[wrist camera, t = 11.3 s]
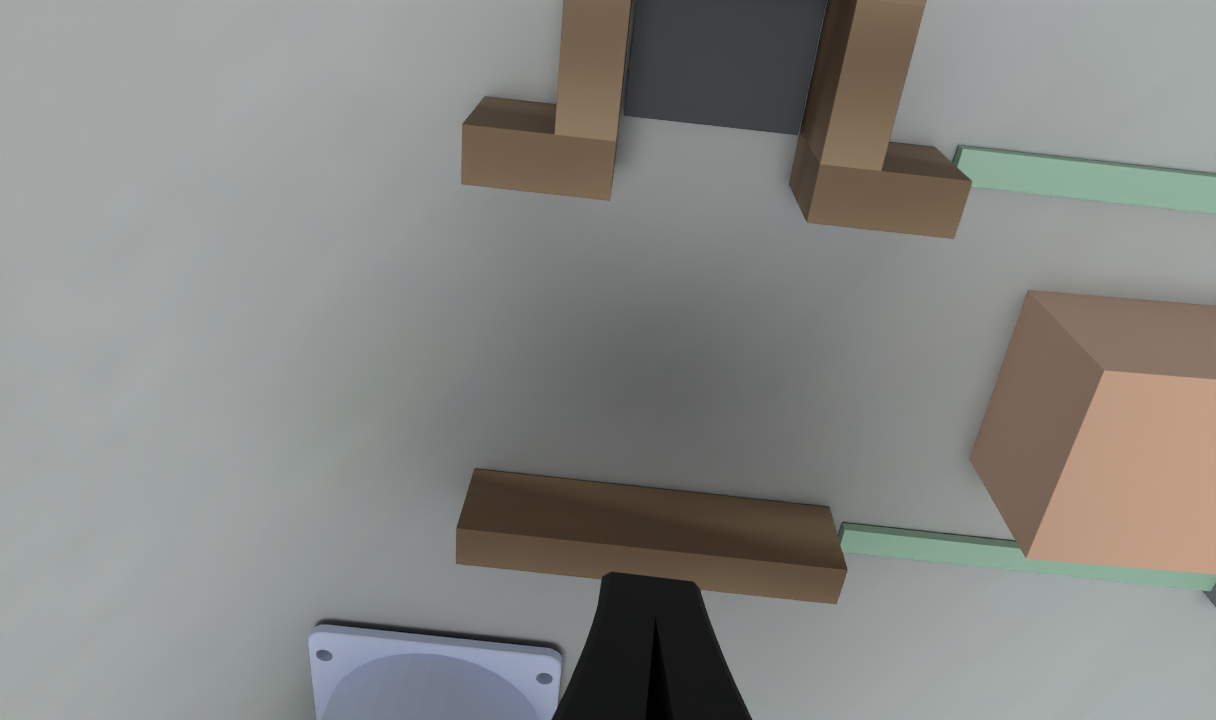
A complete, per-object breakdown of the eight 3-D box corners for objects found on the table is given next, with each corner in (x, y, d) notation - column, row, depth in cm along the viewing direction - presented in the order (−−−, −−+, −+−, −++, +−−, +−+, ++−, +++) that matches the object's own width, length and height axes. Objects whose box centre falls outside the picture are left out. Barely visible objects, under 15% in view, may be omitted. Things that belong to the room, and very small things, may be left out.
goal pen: (1252, 594, 24) (1311, 663, 22) (834, 549, 24) (852, 614, 22) (1510, 197, 19) (1624, 238, 16) (961, 136, 18) (1003, 168, 16)
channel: (819, 539, 24) (836, 604, 22) (473, 502, 24) (455, 563, 22) (996, -65, 17) (1049, -58, 14) (490, -123, 16) (465, -125, 14)
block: (1152, 471, 23) (1243, 576, 19) (968, 456, 23) (1025, 558, 19) (1232, 304, 20) (1353, 390, 17) (1026, 287, 20) (1104, 370, 17)
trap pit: (795, 131, 19) (797, 135, 18) (624, 112, 18) (624, 115, 18) (826, -16, 17) (829, -15, 17) (641, -38, 17) (640, -36, 17)
